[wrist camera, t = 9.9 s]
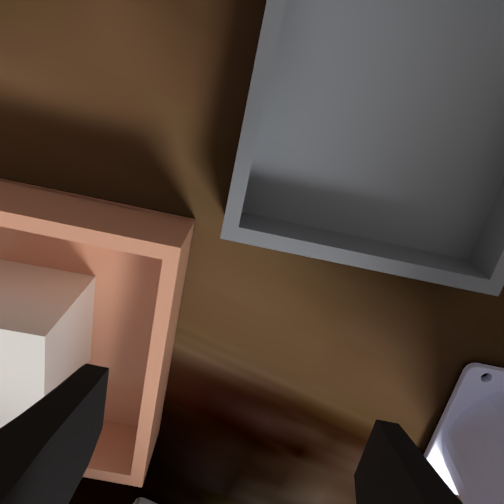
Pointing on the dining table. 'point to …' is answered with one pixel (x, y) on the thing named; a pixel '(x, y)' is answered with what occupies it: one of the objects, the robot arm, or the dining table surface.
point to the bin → (111, 302)
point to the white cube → (41, 332)
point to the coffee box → (143, 501)
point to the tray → (377, 138)
